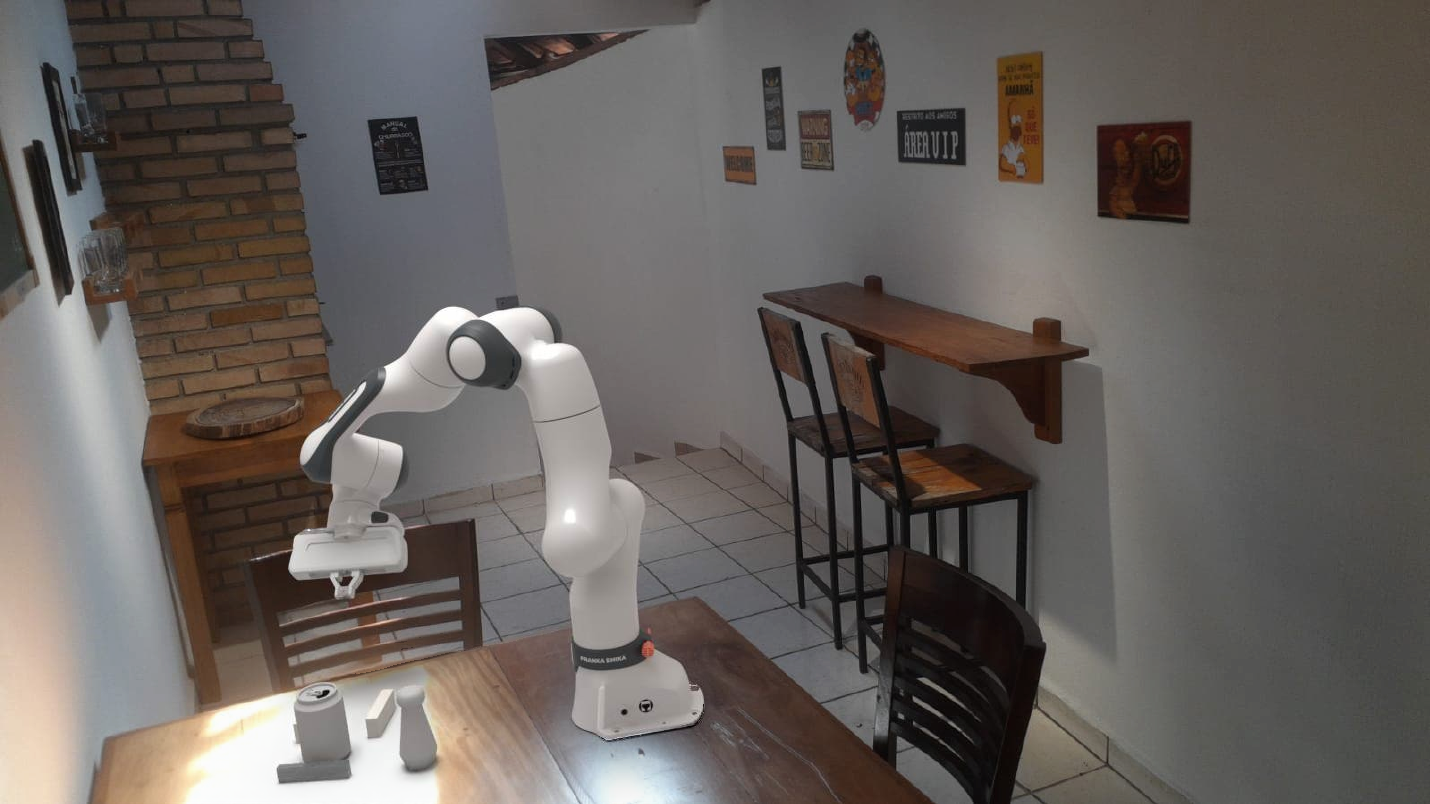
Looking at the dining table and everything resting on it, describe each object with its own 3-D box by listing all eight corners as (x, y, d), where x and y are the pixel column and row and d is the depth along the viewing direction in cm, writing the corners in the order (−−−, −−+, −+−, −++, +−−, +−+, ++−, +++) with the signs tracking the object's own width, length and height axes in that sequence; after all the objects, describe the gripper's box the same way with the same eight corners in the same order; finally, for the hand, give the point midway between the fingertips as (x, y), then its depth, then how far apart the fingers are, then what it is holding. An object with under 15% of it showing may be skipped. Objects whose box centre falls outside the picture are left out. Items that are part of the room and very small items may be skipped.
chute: (396, 707, 190) (393, 689, 189) (379, 737, 180) (377, 718, 180) (316, 712, 190) (313, 694, 189) (296, 743, 180) (293, 724, 180)
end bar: (351, 773, 170) (349, 759, 170) (349, 778, 169) (346, 763, 168) (281, 778, 170) (279, 764, 169) (278, 782, 169) (276, 768, 168)
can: (338, 770, 171) (327, 702, 168) (294, 769, 172) (282, 701, 170) (359, 745, 178) (349, 679, 176) (317, 744, 180) (306, 678, 177)
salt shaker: (446, 759, 172) (436, 685, 169) (419, 777, 168) (408, 701, 165) (421, 750, 176) (410, 677, 173) (393, 768, 171) (382, 693, 168)
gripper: (289, 522, 192) (277, 595, 185) (403, 513, 192) (396, 586, 185) (302, 537, 198) (291, 609, 190) (413, 528, 198) (407, 600, 190)
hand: (344, 597), depth 188 cm, fingers closed
